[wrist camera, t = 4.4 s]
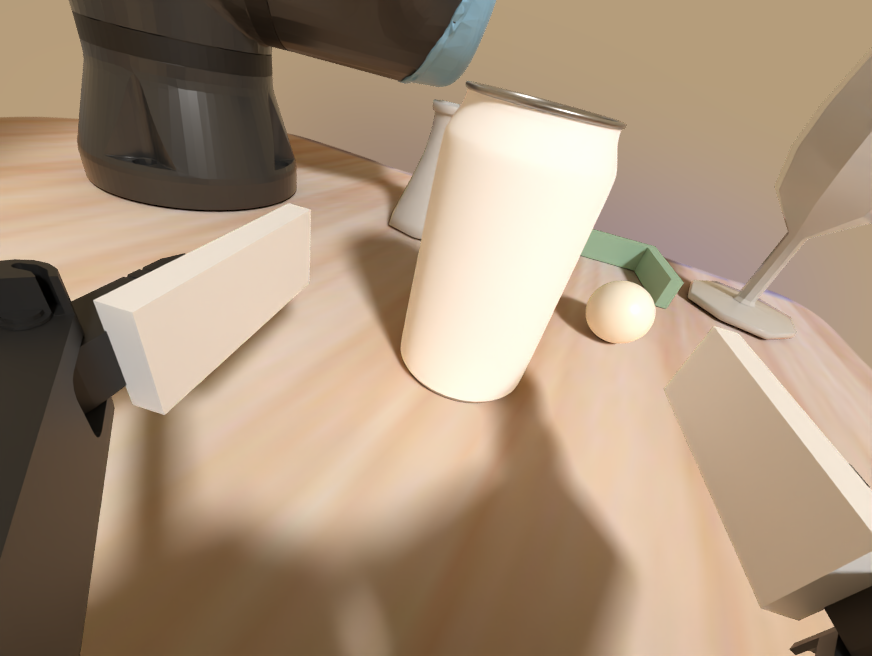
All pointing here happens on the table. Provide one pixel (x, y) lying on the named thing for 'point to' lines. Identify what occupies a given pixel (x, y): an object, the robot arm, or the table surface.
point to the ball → (620, 312)
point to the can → (502, 237)
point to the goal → (636, 263)
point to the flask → (422, 177)
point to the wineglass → (808, 201)
